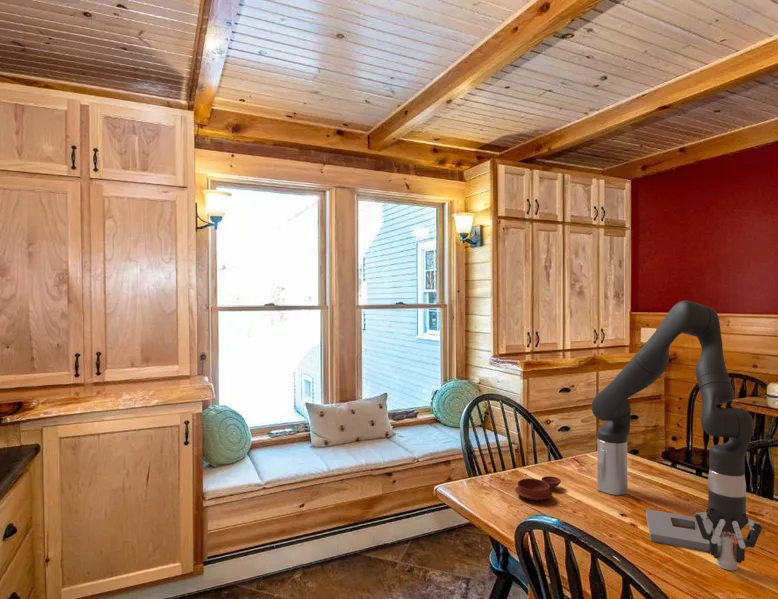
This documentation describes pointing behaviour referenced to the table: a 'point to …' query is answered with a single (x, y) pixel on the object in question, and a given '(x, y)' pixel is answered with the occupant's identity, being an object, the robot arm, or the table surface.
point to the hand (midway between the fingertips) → (726, 558)
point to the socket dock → (678, 530)
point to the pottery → (537, 487)
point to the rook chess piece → (727, 552)
